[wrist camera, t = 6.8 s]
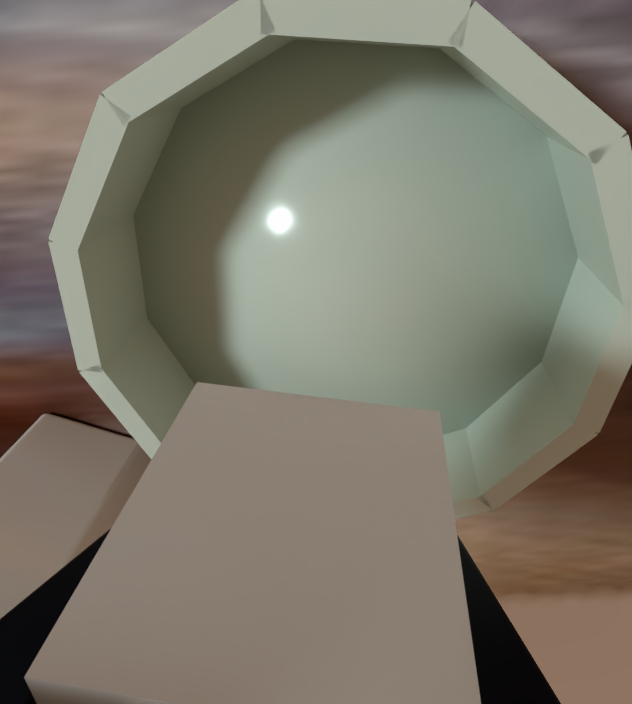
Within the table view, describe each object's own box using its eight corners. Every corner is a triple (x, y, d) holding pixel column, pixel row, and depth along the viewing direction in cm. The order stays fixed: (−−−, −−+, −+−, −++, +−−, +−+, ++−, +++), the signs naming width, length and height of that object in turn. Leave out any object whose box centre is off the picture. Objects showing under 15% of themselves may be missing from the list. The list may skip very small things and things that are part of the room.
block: (439, 411, 8) (489, 759, 4) (403, 568, 10) (411, 896, 6) (197, 382, 8) (23, 677, 4) (210, 539, 10) (101, 835, 6)
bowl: (709, 232, 15) (804, 284, 12) (386, 509, 23) (386, 589, 19) (262, -146, 12) (213, -225, 9) (65, 324, 20) (-2, 380, 16)
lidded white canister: (200, 537, 26) (76, 857, 15) (66, 547, 28) (-124, 837, 17) (127, 399, 21) (-109, 712, 11) (-25, 420, 23) (-348, 707, 13)
